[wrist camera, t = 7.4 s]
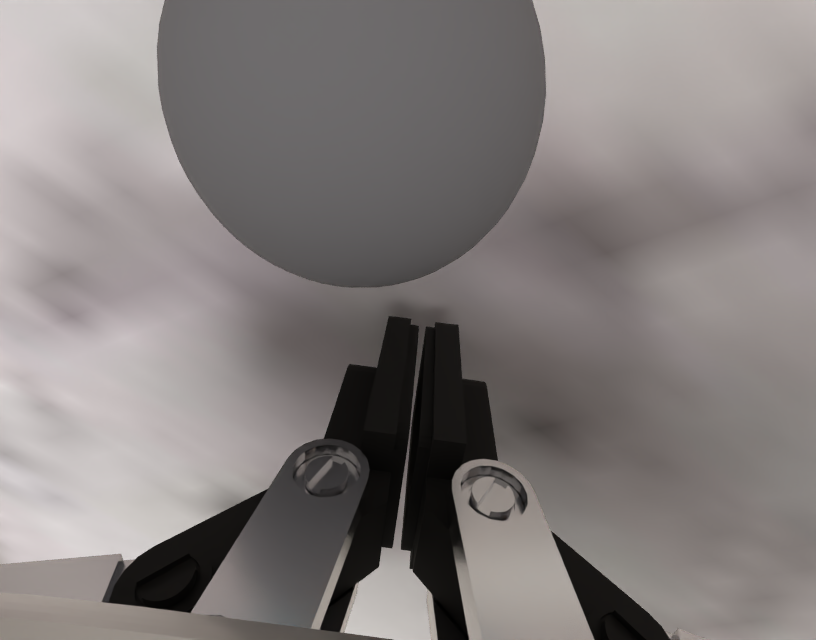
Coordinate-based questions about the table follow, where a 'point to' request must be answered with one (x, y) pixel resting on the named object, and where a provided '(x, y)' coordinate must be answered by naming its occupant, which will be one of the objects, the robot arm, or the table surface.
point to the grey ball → (354, 125)
